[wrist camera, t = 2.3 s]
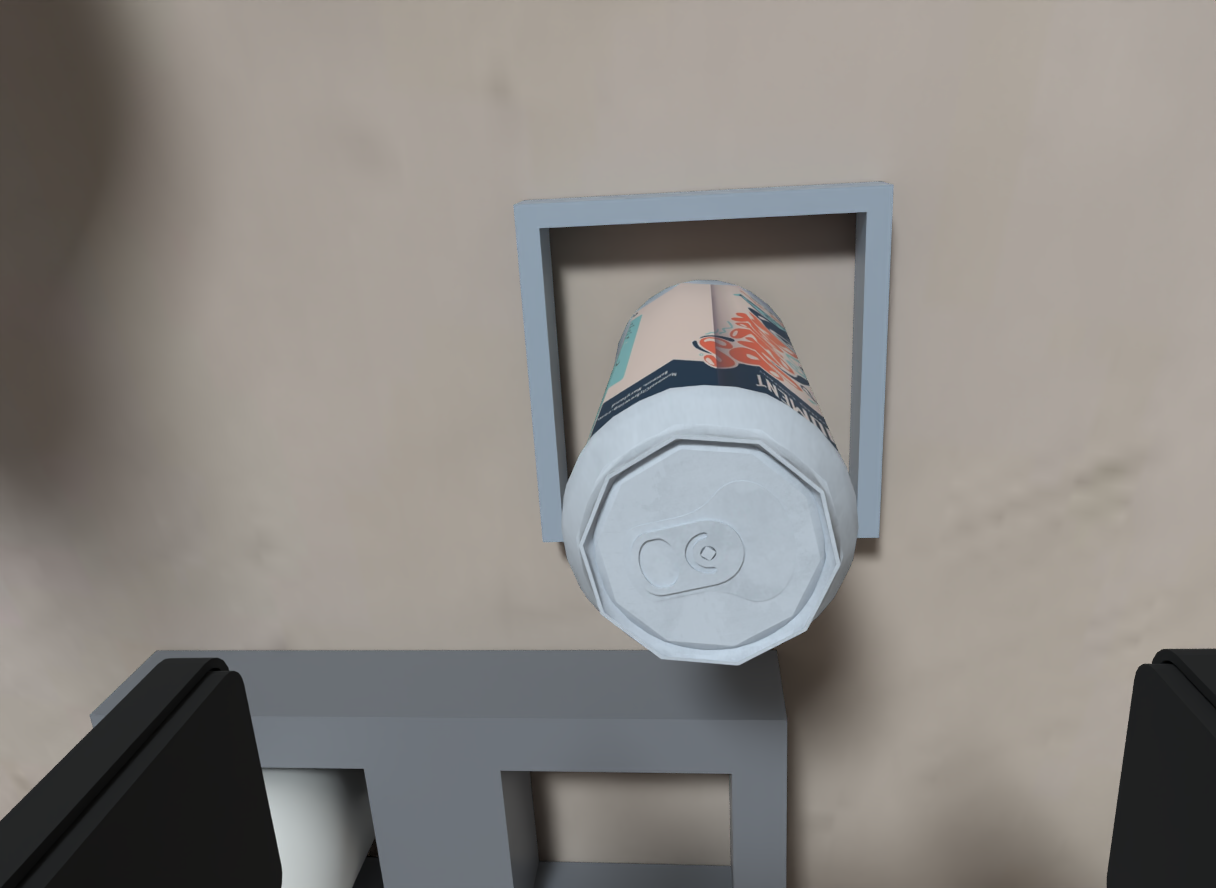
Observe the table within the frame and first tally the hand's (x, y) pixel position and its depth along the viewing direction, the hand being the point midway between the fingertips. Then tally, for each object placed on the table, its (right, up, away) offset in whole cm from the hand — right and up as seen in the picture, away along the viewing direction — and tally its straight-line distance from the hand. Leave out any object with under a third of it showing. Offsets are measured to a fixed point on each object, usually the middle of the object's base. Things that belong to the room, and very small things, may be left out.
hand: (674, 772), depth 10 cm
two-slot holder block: (-5, -8, +21) cm, 23 cm away
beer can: (+2, +6, +16) cm, 17 cm away
